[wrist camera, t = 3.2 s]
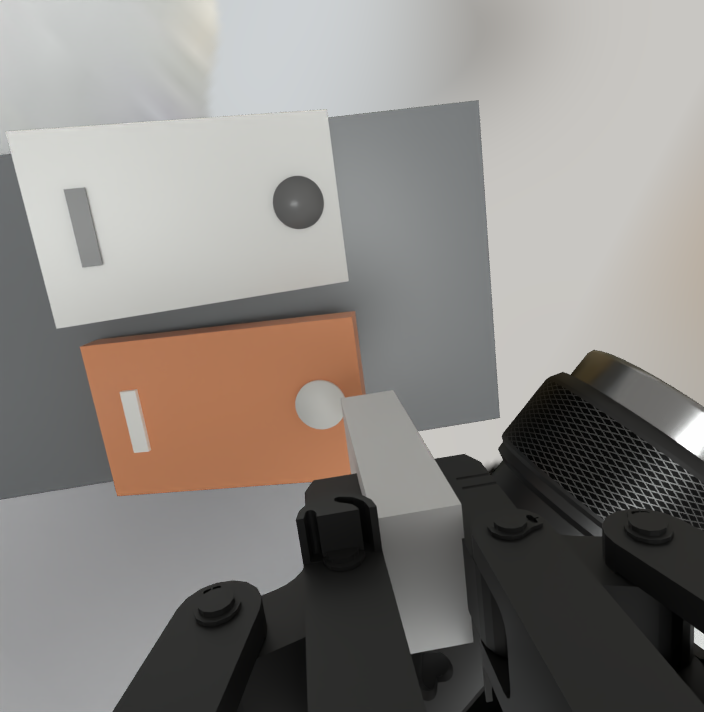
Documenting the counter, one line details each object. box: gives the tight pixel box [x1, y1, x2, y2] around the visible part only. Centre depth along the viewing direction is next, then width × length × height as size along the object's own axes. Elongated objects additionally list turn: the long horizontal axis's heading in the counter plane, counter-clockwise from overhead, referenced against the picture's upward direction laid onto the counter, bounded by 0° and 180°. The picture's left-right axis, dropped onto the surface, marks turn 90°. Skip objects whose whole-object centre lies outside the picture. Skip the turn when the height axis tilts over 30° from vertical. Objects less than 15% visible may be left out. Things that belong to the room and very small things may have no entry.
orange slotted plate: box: [80, 311, 366, 496], centre depth 21 cm, size 10×6×1 cm, turn 97°
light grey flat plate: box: [5, 109, 349, 329], centre depth 19 cm, size 10×6×1 cm, turn 97°
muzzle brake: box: [411, 350, 704, 712], centre depth 26 cm, size 10×28×10 cm, turn 143°
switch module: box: [0, 100, 500, 500], centre depth 24 cm, size 28×13×6 cm, turn 97°
